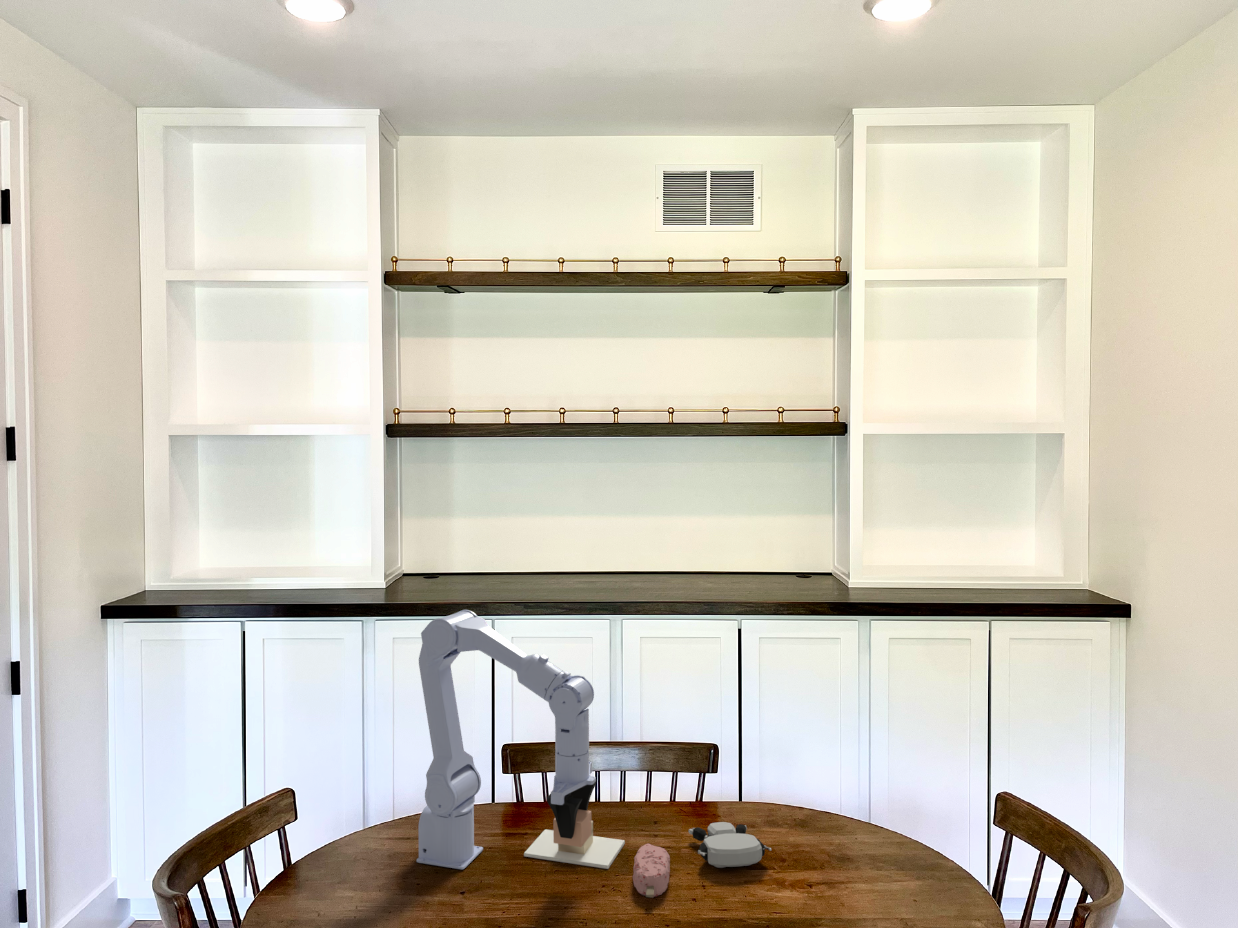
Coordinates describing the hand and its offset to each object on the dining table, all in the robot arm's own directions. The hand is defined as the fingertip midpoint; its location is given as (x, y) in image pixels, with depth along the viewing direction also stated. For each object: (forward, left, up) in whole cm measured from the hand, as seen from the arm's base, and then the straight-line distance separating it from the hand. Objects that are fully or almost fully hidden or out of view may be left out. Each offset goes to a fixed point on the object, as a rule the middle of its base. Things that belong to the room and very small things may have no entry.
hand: (572, 829), depth 145 cm
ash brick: (-3, +11, -8) cm, 14 cm away
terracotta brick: (0, 0, -2) cm, 2 cm away
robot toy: (+24, +17, -9) cm, 30 cm away
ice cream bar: (+13, +3, -9) cm, 16 cm away
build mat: (-4, +11, -9) cm, 14 cm away
